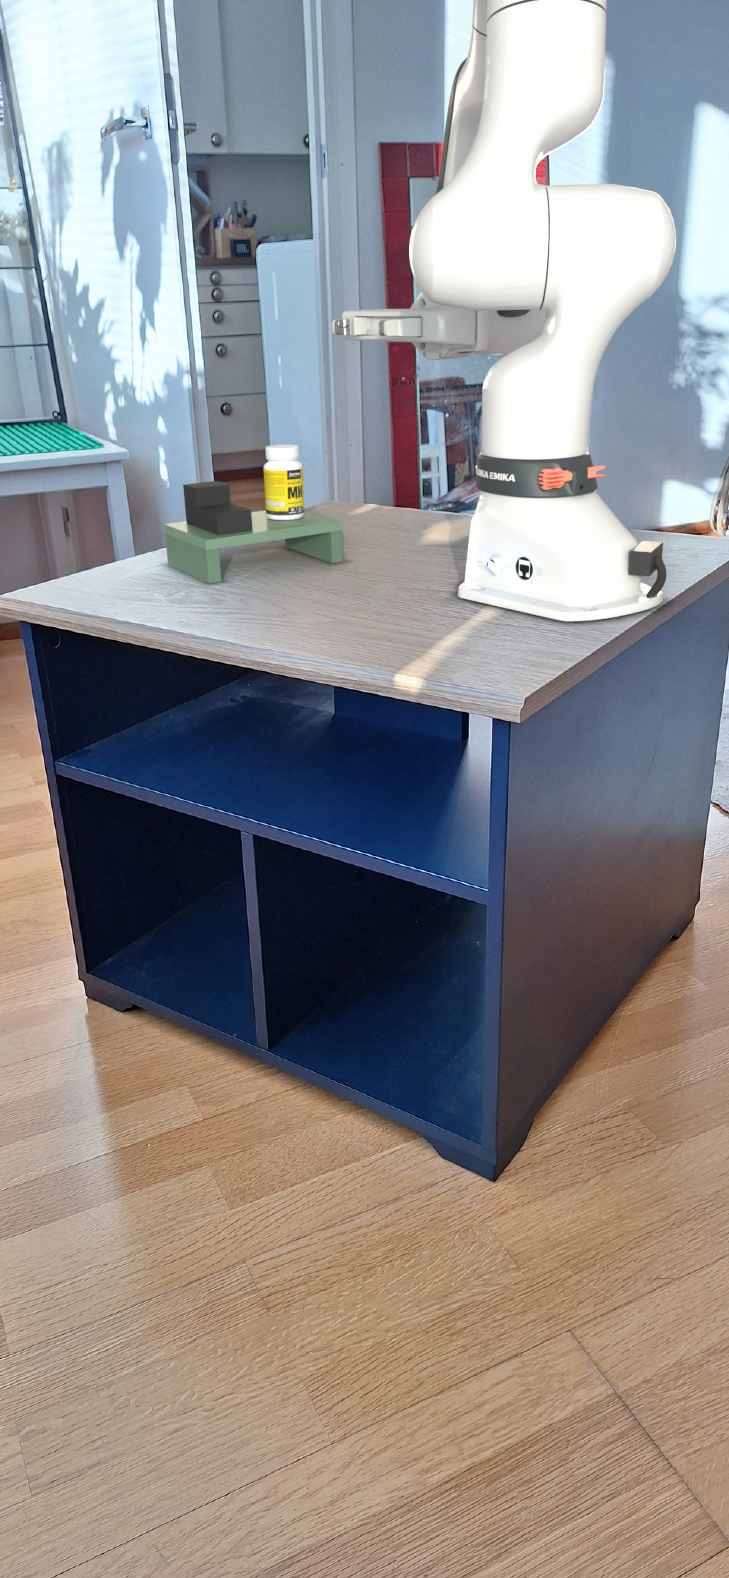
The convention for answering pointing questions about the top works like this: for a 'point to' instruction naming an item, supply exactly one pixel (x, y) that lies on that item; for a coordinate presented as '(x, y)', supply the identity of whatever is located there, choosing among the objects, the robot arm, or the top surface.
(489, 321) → the robot arm
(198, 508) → the dark stepped block
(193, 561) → the block
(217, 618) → the top surface
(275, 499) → the supplement bottle
